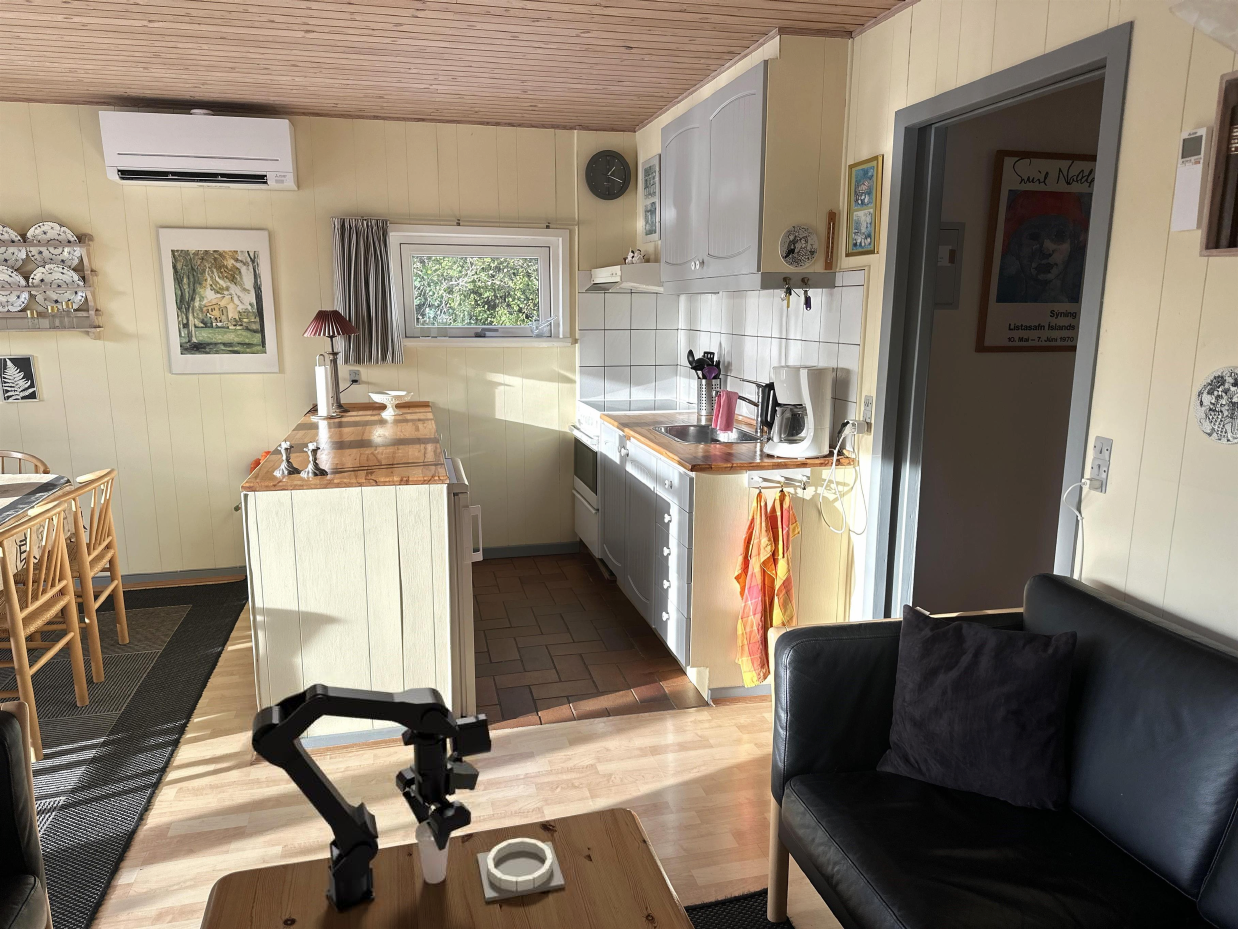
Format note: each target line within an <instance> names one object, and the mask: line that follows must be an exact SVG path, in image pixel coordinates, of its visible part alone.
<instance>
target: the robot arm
mask: <svg viewBox="0 0 1238 929" xmlns="http://www.w3.org/2000/svg"><path fill="white" fill-rule="evenodd" d="M324 716H325V717H327V716H328V717H339V718H351V719H360V720H361V719H363V720H374V721H383V722H391V723H396V724H398V725H401V726H402V727H404V728H406V729H405V730H404V731H403V732H402V733H401V739H402V742H403V743H402V744H403V746H405V747H409V746H413V763H412V764H410V765H409V767H406V768H403V769H400V770H399V771H398V773H397V774H396V775H395V786H396V787H397V789H398V790H399V791H400V792H401V794H402V795H401V796H402V797H403V798H404V800H405V801H406V804H407V805H408V807H409V809H410V811H411V812H412V814H413V816H414V817H415V820H416V821H417V823H418V825H419V824H421V823H422V822H424V821H426V820H429V821H428V822H426V824H427V826H428V828H429V830H430V832H431V835H432V837H433V839H434V841H435V843H436V846H437V848H438V850H439V851H441V850H444V849H445V848H446V845H447V842H448V839H449V840H450V837H451V836H450V833H451V832H452V833H453V832H455V831H458V830H459V829H463V828H464V827H467V826H469V825H471V823H472V811H471V810H469V808H468V806H466V805H465V804H464V803H463V802H462V801H460V800H458V799H456V800H453V801H450V800H449V799H448V798H447V796H449V797H450V796H453V795H456V794H457V793H456V792H457V791H456V790H469V791H474V790H475V789H476V785H477V782H478V778H479V776H480V771H479V770H478V769H477V767H475V766H474V765H473V764H471V763H470V762H468V761H467V760H464V758H466V757H470V756H471V757H472V756H477V755H481V754H482V755H483V754H488V753H491V751H492V739H491V738H492V737H491V735H490V728H489V724H488V718H487V715H486V714H485V713H480V714H477V715H472V716H469V717H463V718H457V719H456V718H455V716H454V713H453V712H452V710H450V709H449V708H448V707H447V705H446V702H445V701H444V698H443V695H442V694H441V693H440V692H439V690H438V689H436V688H435V687H434V688H433V687H416V688H415V687H414V688H413V687H411V688H409V689H406V690H403V691H397V692H395V691H394V692H391V691H389V692H388V691H381V690H371V689H360V688H351V687H350V688H349V687H341V686H332V685H331V686H330V685H326V684H323V683H314V684H312V685H310V686H308V687H307V688H306V689H304V690H303V691H300V692H297V693H295V694H292V695H290V696H287V697H284V698H283V699H281V700H280V701H279V702H277V703H275V704H273V705H270V706H266V707H264V708H262V709H259V711H258V712H257V713H256V714H255V716H254V717H253V721H252V731H251V747H252V749H253V751H254V752H255V753H256V754H257V755H258V756H260V757H261V758H262V759H263V760H265V761H266V762H267V763H268V764H269V765H271V766H275V767H277V768H279V769H281V770H283V771H284V772H285V773H286V774H287V776H289V778H290V779H291V781H293V783H294V784H295V785H296V787H297V788H298V789H299V791H301V793H302V794H303V796H305V798H306V799H307V800H308V801H309V803H310V804H311V806H313V808H314V809H315V810H316V811H317V812H318V814H319V815H320V816H321V817H322V818H323V820H324V821H325V822H326V823H327V824H328V826H329V827H330V829H331V830H332V831H331V832H332V834H333V837H334V838H333V839H332V840H331V842H330V843H329V856H330V857H329V858H330V865H329V866H327V869H328V886H329V888H328V889H326V895H327V896H328V898H329V900H330V902H331V903H332V904H333V907H334V908H335V910H336V911H337V913H338V914H342V913H345V912H347V911H349V910H351V909H354V908H355V907H358V906H360V905H362V904H364V903H368V902H369V901H372V900H374V899H375V897H376V894H375V892H374V891H373V889H374V888H375V885H374V884H375V883H374V882H375V881H374V868H373V866H372V864H370V863H371V862H372V861H373V860H374V859H375V858H376V856H377V854H378V853H379V852H378V851H379V842H378V839H379V832H378V827H377V826H378V825H377V820H376V815H375V814H374V813H371V812H370V811H369V810H368V808H367V807H366V804H365V803H364V802H363V801H362V802H360V803H359V804H358V805H357V806H354V805H352V804H350V803H349V802H348V801H347V799H346V798H345V797H344V796H343V795H342V794H341V792H340V791H339V790H338V788H337V787H336V786H335V785H334V783H332V781H331V780H330V779H329V777H328V776H327V775H326V774H325V772H324V771H323V770H322V768H321V767H320V766H319V765H318V763H316V761H315V760H314V759H313V758H312V756H311V755H310V753H309V752H308V751H307V750H306V748H305V746H304V745H303V744H302V743H303V742H302V740H301V738H300V737H301V736H302V735H303V734H304V733H305V732H306V731H307V730H308V729H309V728H310V727H311V726H312V725H313V724H314V723H315V722H316V721H318V720H319V719H321V718H322V717H324ZM448 743H449V749H450V754H449V755H448ZM432 807H434V808H432ZM429 808H432V812H431V813H430V815H429ZM449 836H450V837H449Z"/></svg>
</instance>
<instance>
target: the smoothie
mask: <svg viewBox="0 0 1238 929" xmlns="http://www.w3.org/2000/svg"><path fill="white" fill-rule="evenodd" d="M432 811H433V808H432V807H431V808H429V815H430V813H431V812H432ZM428 821H429V820H426V821H424V822H422V823H421V824H419V823H418V825H417V826H416V828H415V831H414V832H415V833H414V837H415V840H416V841H417V844H418V850H419V856H420V860H421V866H422V872H423V876H424V880H425V882H426V883H428V884H438V883H441V882H442V881H444V880H445V878H446V873H447V864H448V854H449V848H450V847H449V844H450V838H451V836H452V833H453V831H452V832H451V833H450V836H449V839H448V842H447V845H446V848H445V849H444V850H441V851H439V850H438V848H437V846H436V843H435V841H434V839H433V837H432V835H431V832H430V830H429V828H428V826H427V824H426V822H428Z"/></svg>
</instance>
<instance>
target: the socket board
mask: <svg viewBox="0 0 1238 929" xmlns="http://www.w3.org/2000/svg"><path fill="white" fill-rule="evenodd" d="M476 856H477V857H476V858H477V862H478V868H479V873H480V874H479V875H480V878H481V879H480V880H481V883H482V890H483V895H484V899H485V900H484V901H485V902H492V901H497V900H498V901H499V900H503V899H504V900H505V899H508V898H513V897H520V896H524V895H530V894H535V893H540V892H541V893H542V892H547V891H552V890H558V889H563V888H565V885H566V884H565V880H564V877H563V875H562V871H561V868H560V865H559V861H558V859H557V856H556V852H555V849H554V846H553V844H552V841H545V842H542V841H541V840H538V839H533V838H527V837H518V838H514V839H513V838H512V839H507V840H504V841H503V842H500V843H499V844H496V846H493V848H492V849H491V851H487V852H481V853H477V855H476Z"/></svg>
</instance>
